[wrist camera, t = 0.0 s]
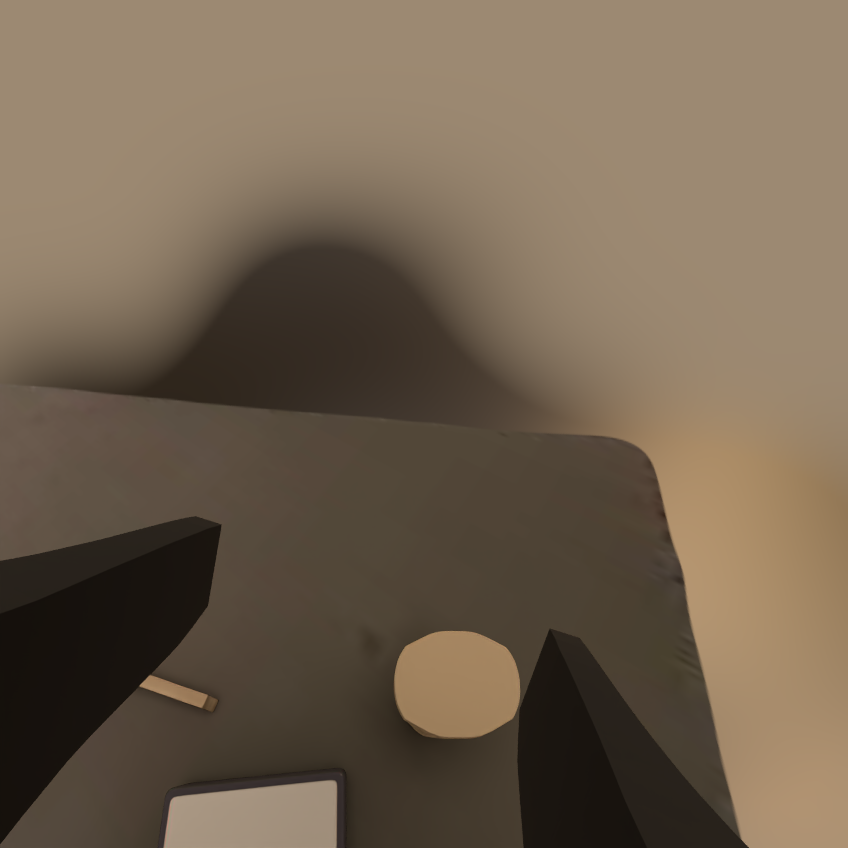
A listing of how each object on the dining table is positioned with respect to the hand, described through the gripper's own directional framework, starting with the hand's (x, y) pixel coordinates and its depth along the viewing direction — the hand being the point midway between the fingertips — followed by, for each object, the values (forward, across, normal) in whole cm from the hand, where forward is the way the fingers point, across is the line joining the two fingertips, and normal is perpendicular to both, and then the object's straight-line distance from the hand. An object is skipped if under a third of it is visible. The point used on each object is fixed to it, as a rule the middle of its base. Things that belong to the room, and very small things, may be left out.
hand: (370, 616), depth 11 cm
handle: (+23, -4, +23) cm, 33 cm away
